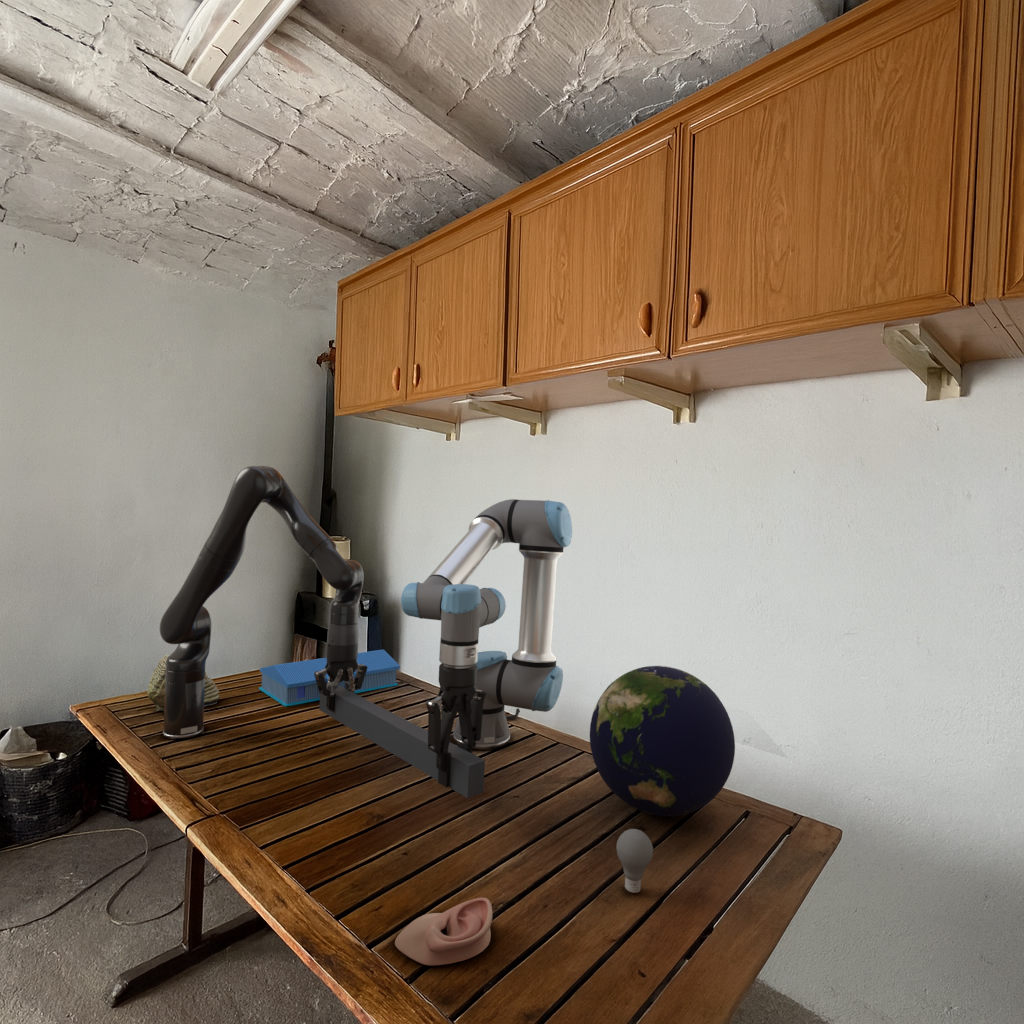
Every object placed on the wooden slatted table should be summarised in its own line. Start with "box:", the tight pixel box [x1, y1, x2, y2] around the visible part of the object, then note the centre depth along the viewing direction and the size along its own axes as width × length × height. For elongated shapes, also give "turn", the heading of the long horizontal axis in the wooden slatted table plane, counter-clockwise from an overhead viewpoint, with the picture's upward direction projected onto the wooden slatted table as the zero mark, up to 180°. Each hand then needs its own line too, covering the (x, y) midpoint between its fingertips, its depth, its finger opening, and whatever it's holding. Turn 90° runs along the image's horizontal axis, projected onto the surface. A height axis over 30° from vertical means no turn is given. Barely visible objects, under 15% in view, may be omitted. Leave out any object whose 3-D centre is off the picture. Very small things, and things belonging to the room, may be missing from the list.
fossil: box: [147, 654, 221, 712], centre depth 185 cm, size 9×18×15 cm, turn 132°
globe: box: [589, 665, 736, 817], centre depth 135 cm, size 30×30×30 cm
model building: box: [258, 649, 401, 707], centre depth 208 cm, size 39×24×10 cm, turn 132°
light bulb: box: [615, 828, 654, 894], centre depth 106 cm, size 6×6×10 cm
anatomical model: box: [394, 897, 493, 967], centre depth 92 cm, size 13×4×12 cm
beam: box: [318, 684, 486, 799], centre depth 142 cm, size 60×4×6 cm, turn 44°
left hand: (339, 708), depth 158 cm, fingers closed on beam, 4 cm apart
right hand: (453, 781), depth 125 cm, fingers closed on beam, 4 cm apart
